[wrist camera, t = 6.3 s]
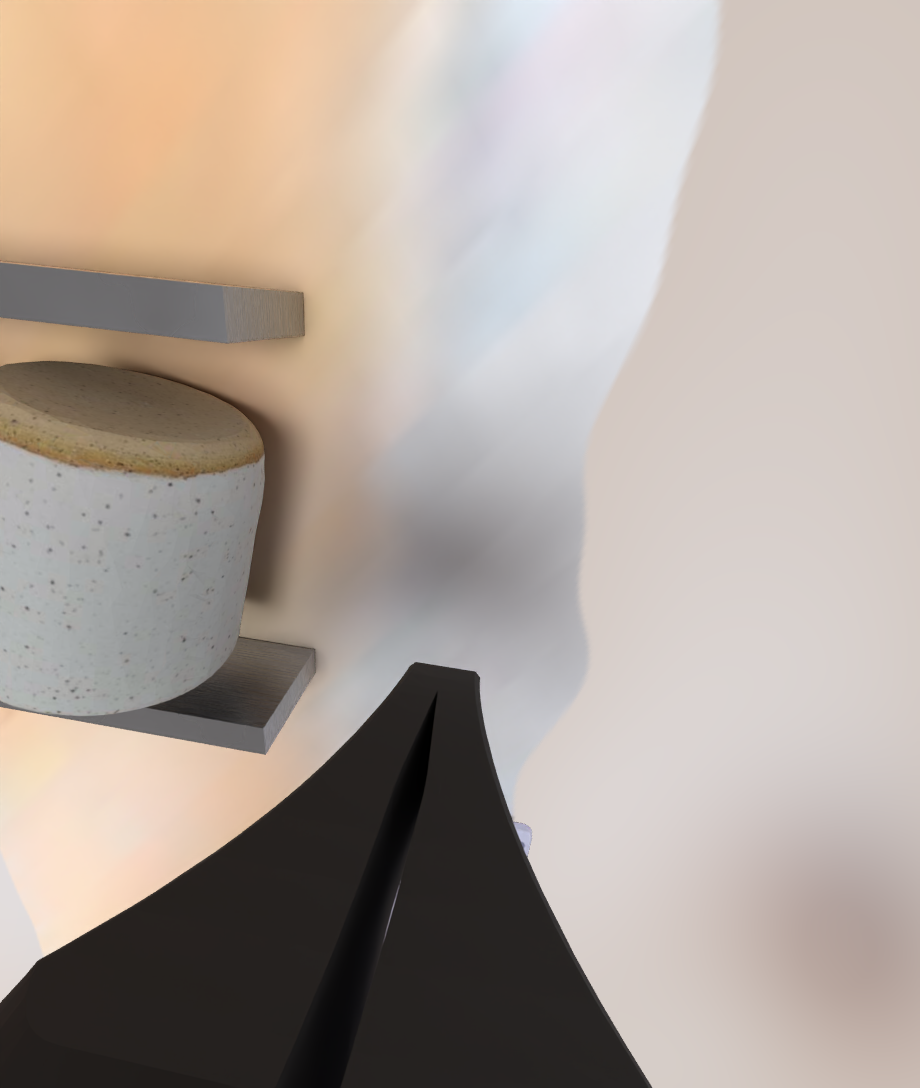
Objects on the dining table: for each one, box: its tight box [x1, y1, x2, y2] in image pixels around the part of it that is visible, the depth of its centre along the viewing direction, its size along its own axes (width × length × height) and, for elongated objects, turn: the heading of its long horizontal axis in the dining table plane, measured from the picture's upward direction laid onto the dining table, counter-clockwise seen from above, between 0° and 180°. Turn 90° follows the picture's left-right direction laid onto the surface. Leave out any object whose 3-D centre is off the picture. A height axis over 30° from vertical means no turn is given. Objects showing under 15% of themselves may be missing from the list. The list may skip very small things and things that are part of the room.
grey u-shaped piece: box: [0, 261, 315, 755], centre depth 17 cm, size 14×12×4 cm
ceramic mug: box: [0, 361, 265, 716], centre depth 15 cm, size 11×8×8 cm
